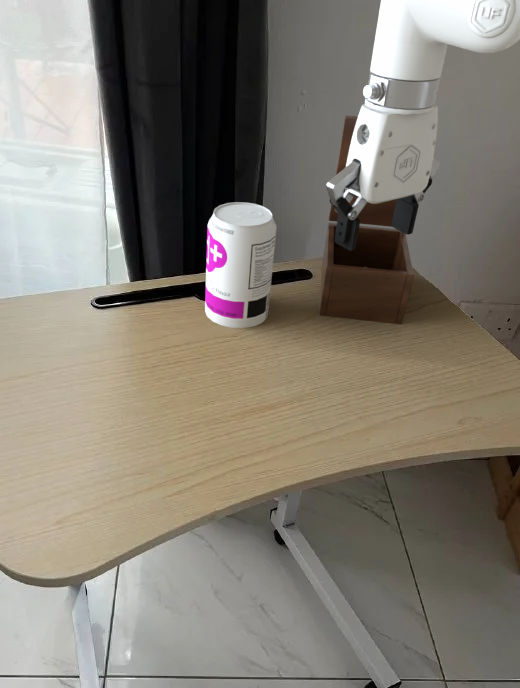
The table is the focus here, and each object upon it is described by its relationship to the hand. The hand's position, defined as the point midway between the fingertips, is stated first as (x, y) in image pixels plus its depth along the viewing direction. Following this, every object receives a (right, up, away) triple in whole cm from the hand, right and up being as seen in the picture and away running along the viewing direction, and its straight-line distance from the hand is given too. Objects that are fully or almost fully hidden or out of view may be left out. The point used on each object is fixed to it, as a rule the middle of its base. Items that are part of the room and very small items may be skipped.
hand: (373, 238), depth 83 cm
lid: (+1, +9, +3) cm, 9 cm away
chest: (0, -7, +9) cm, 11 cm away
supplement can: (-17, -10, +4) cm, 20 cm away
